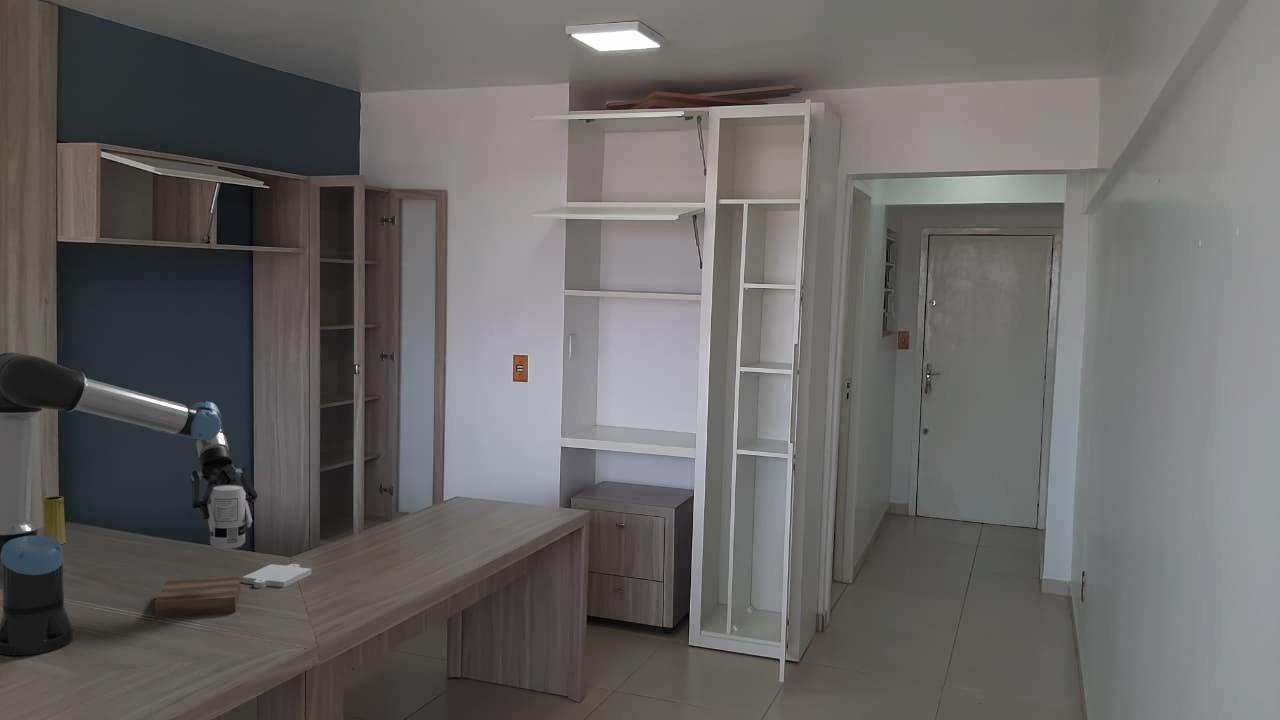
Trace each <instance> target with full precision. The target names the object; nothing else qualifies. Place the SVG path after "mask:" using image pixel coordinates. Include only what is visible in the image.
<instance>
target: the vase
mask: <svg viewBox="0 0 1280 720" xmlns="http://www.w3.org/2000/svg"><path fill="white" fill-rule="evenodd" d="M64 500H65V499H64V496H62V495H56V496H55V495H54V496H52V495H51V496H46V497H44V498H43V537H45V536H47V537H51V538H54V539H56V540H58V541H59V542H60V543H61V544H62V545H64V543H65V544H66V543H67V539H66V537H67V536H66V525H65V523H66V522H65V502H64Z"/></svg>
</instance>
